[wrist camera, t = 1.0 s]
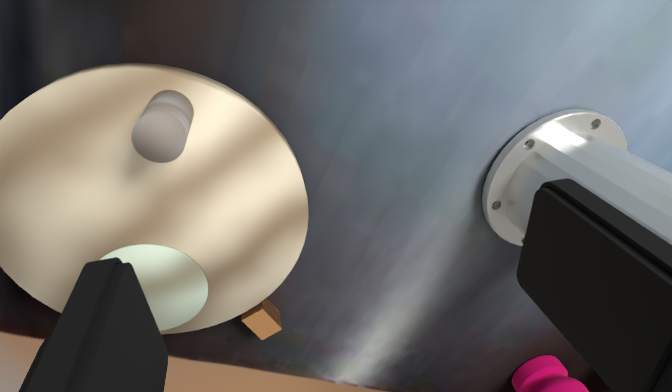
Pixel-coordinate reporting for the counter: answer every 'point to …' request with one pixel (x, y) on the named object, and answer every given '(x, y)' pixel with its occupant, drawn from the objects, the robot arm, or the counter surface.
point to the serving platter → (150, 191)
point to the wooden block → (263, 319)
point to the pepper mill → (545, 377)
